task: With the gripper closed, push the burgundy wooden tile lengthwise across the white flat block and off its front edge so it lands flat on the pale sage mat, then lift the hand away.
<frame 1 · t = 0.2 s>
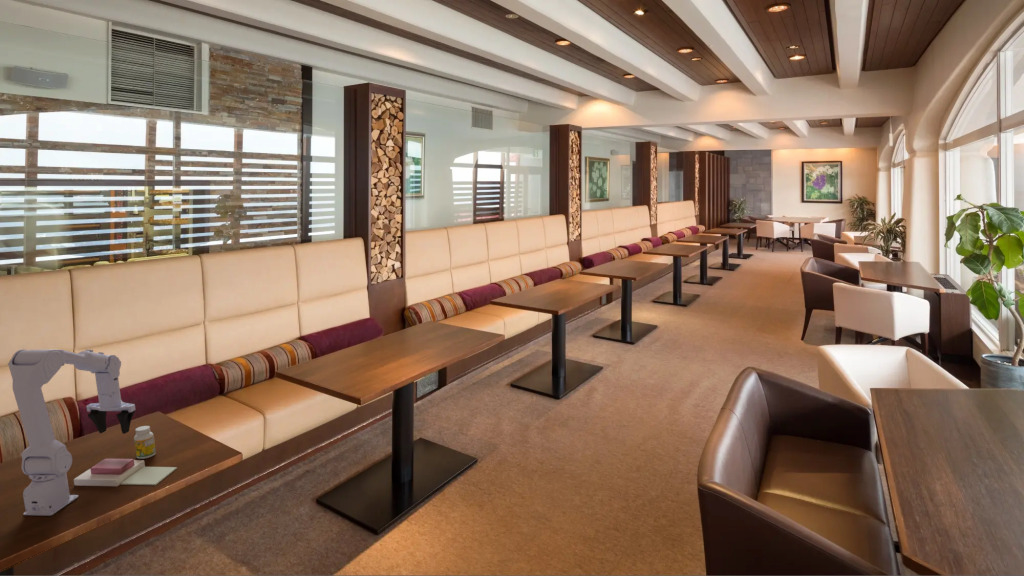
hand: (114, 432, 180), 10 cm above the table, tool pointing down, fingers open, 7 cm apart
mat: (149, 476, 171), on the table
white flat block: (110, 475, 172), on the table
tile: (112, 466, 171), point 3 cm above the table, touching white flat block
supplement bottle: (146, 456, 184), on the table
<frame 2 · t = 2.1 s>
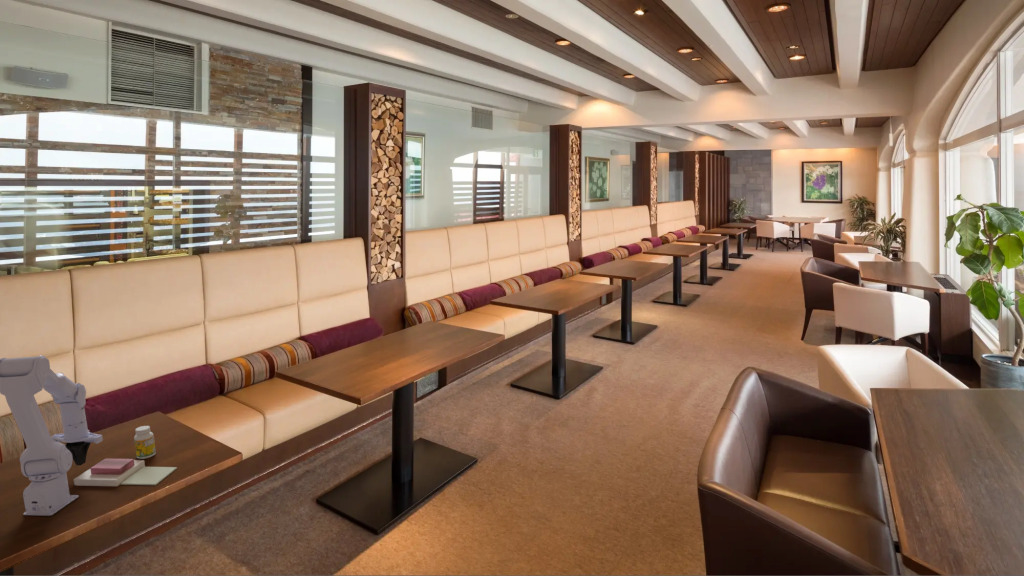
hand: (80, 463, 171), 4 cm above the table, tool pointing down, fingers closed
nothing on the table moved.
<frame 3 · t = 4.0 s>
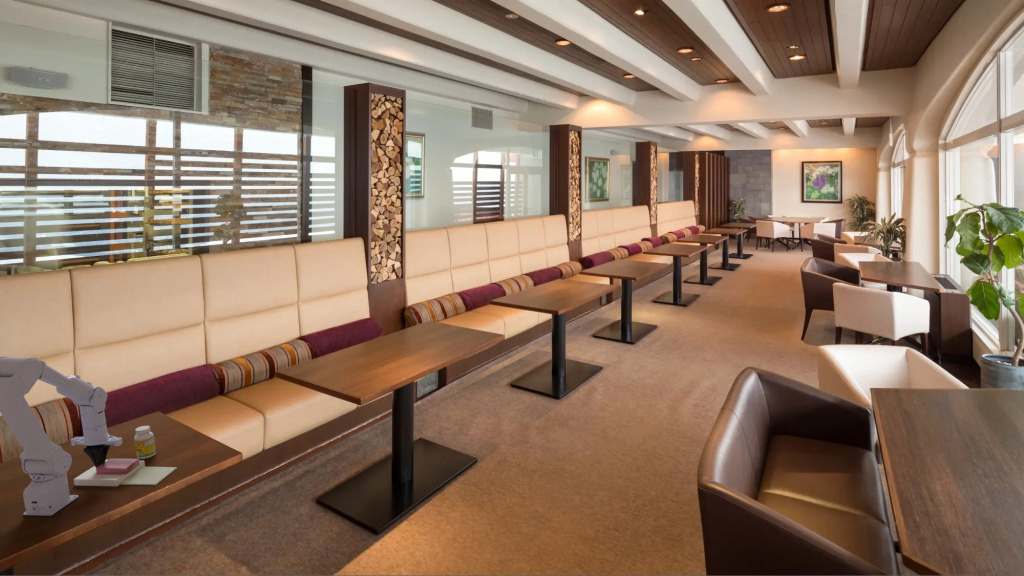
hand: (100, 466, 171), 3 cm above the table, tool pointing down, fingers closed
tile: (118, 466, 171), point 3 cm above the table, touching white flat block
everything else where it was.
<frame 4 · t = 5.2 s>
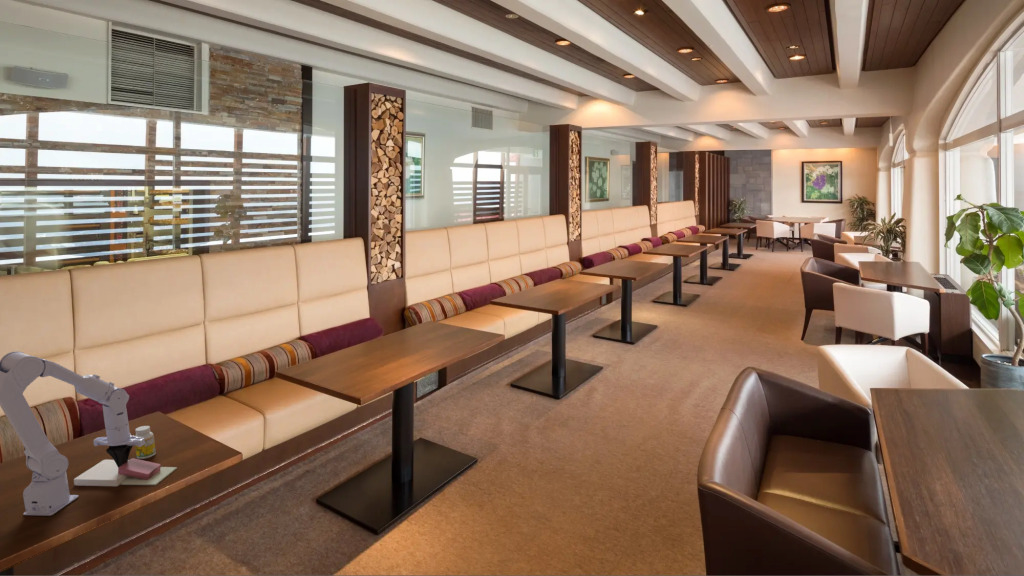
hand: (122, 467, 171), 3 cm above the table, tool pointing down, fingers closed
tile: (139, 468, 171), point 2 cm above the table, tilted 13°, touching gripper
everything else where it was.
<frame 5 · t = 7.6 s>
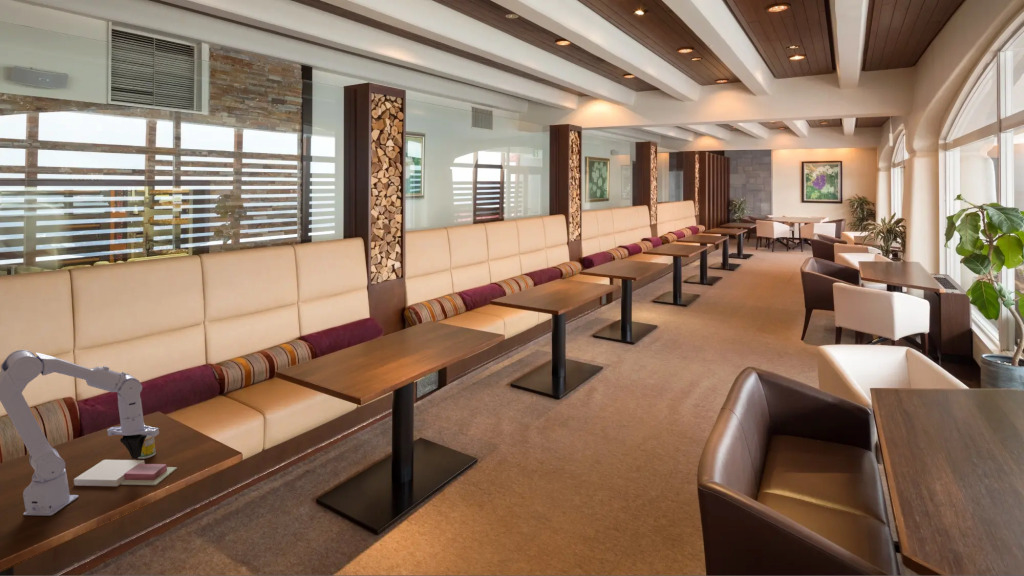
hand: (136, 457, 170), 6 cm above the table, tool pointing down, fingers closed
tile: (146, 471, 171), point 1 cm above the table, touching mat
everything else where it was.
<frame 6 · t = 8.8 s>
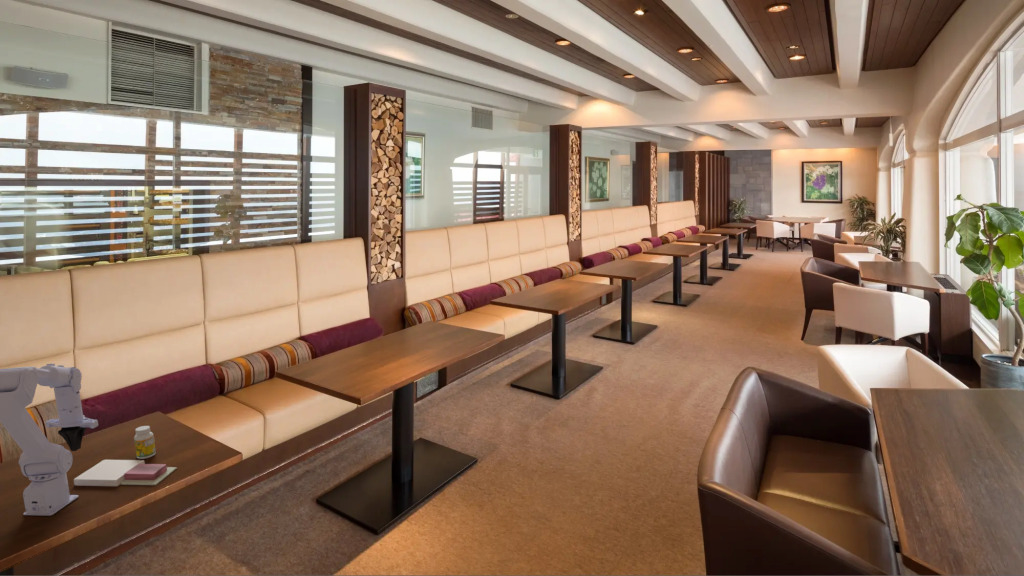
hand: (75, 449, 168), 9 cm above the table, tool pointing down, fingers closed
nothing on the table moved.
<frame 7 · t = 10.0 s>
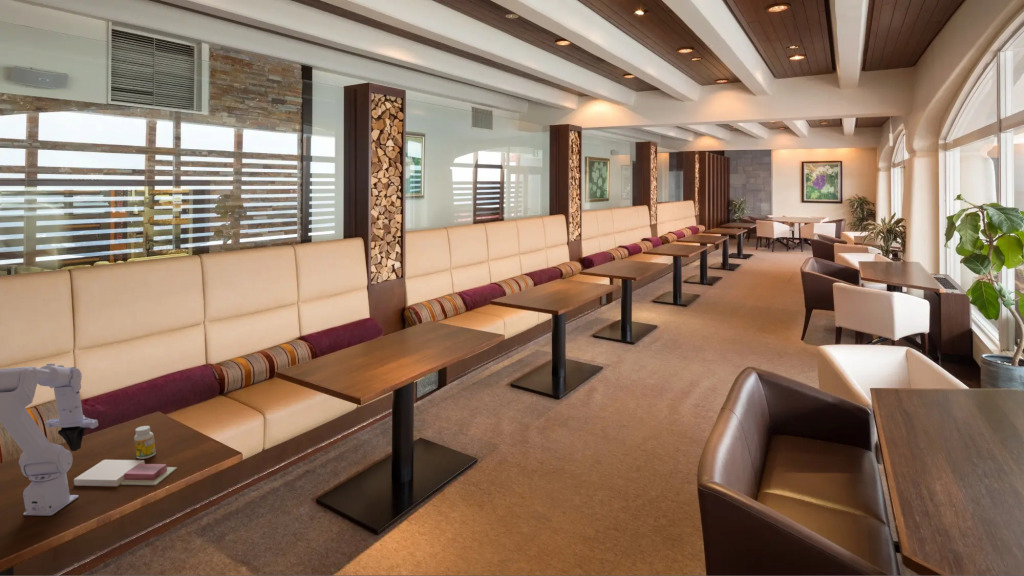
hand: (75, 449, 168), 9 cm above the table, tool pointing down, fingers closed
nothing on the table moved.
at the end: tile inside the target area (1.6 cm from its centre), point 1.4 cm above the table; tile point 1.4 cm above the table; the gripper is holding nothing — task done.
